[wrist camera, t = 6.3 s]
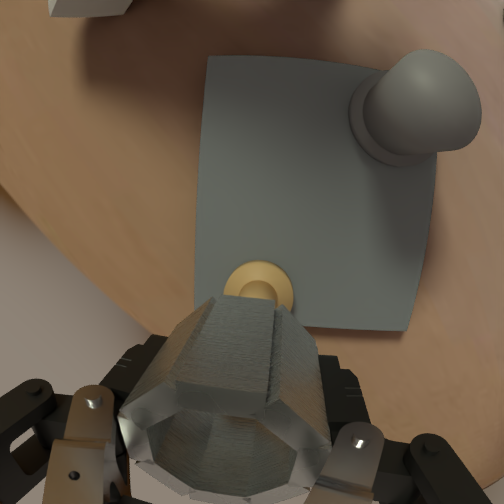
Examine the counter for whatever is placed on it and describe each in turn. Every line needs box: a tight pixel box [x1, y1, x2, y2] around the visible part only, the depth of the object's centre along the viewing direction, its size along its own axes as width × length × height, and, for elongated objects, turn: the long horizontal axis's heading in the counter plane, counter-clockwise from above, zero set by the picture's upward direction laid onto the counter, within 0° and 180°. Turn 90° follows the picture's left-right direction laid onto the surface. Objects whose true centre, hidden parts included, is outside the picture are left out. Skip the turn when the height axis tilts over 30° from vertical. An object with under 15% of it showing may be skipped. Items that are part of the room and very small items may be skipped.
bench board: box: [194, 49, 482, 331], centre depth 14 cm, size 14×16×8 cm
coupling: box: [117, 294, 332, 504], centre depth 9 cm, size 5×5×5 cm
